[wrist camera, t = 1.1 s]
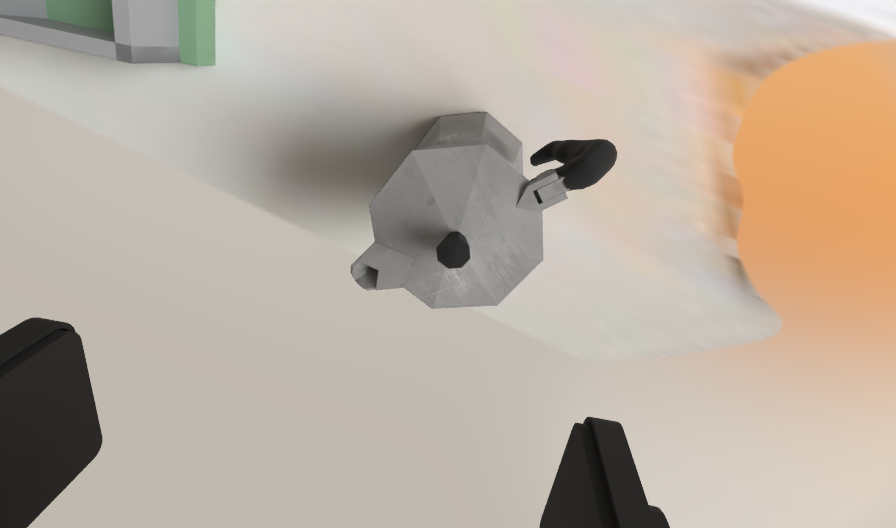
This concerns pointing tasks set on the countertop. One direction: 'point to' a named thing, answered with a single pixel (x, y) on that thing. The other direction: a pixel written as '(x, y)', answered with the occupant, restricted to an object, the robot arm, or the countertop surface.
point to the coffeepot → (470, 212)
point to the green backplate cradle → (118, 28)
